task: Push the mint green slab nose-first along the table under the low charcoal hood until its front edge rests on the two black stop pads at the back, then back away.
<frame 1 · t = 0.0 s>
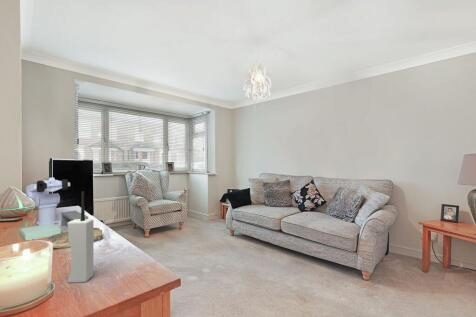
hand: (56, 185, 112), 22 cm above the table, tool horizontal, fingers open, 7 cm apart
vintage mobile phone: (80, 280, 66), on the table
hood: (74, 227, 116), on the table
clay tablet: (74, 243, 96), on the table
mint green slab: (40, 235, 106), on the table
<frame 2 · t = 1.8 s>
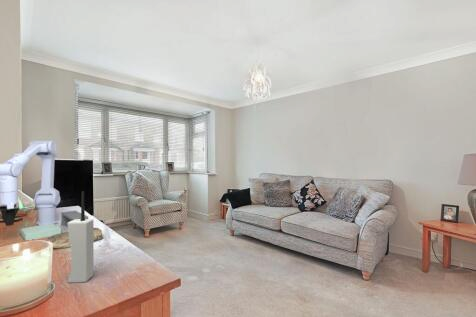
hand: (8, 223, 98), 7 cm above the table, tool pointing down, fingers open, 7 cm apart
nothing on the table moved.
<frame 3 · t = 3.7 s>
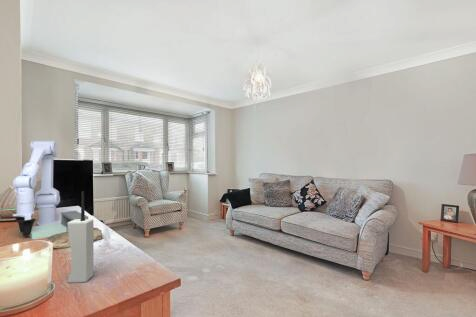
hand: (25, 233, 102), 1 cm above the table, tool pointing down, fingers open, 7 cm apart
mint green slab: (46, 234, 108), on the table, touching gripper
everything else where it was.
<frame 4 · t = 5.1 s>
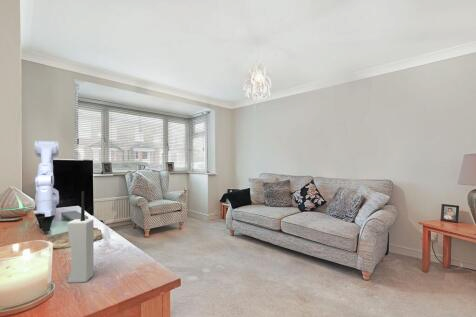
hand: (44, 229, 107), 2 cm above the table, tool pointing down
mint green slab: (63, 230, 112), on the table, touching gripper, hood
everything else where it was.
when the fingers open (2 cm above the table, at t = 6.0 s): mint green slab stays where it is, on the table.
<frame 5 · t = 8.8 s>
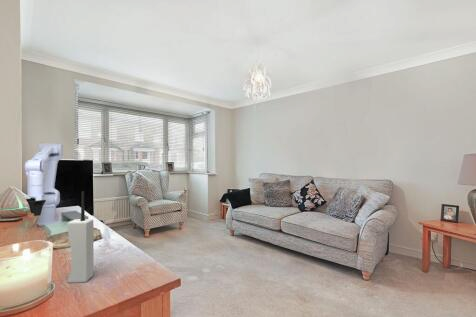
hand: (35, 214, 109), 8 cm above the table, tool pointing down, fingers open, 7 cm apart
mint green slab: (63, 230, 112), on the table
everything else where it was.
at the end: mint green slab 0.6 cm from the target spot, on the table; mint green slab tilted 0°; the gripper is holding nothing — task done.
